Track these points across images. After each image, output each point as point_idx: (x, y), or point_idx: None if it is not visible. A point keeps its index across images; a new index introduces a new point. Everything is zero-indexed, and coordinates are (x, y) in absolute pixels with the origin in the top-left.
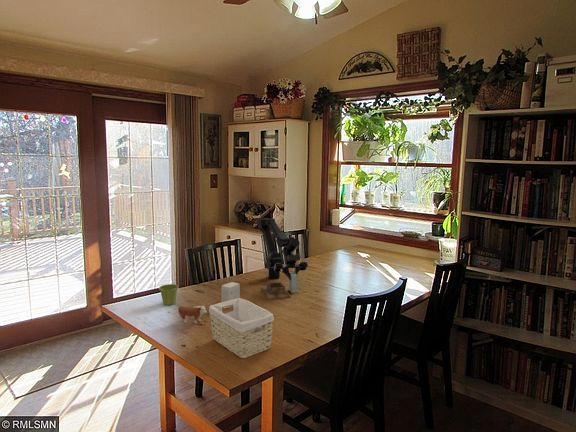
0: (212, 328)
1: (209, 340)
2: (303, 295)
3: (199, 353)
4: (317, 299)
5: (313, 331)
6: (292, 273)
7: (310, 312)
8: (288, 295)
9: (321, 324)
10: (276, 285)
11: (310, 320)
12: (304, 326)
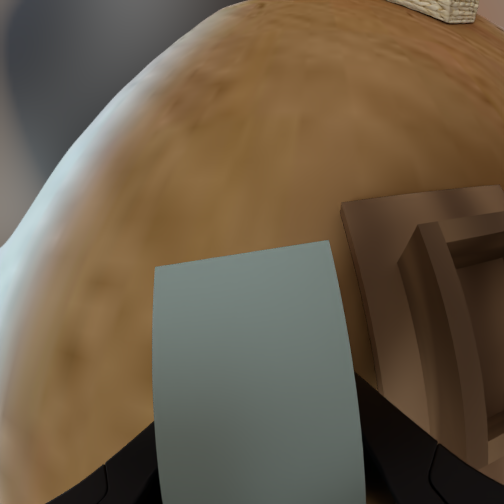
0: (475, 3)
1: (477, 24)
2: None
3: None
4: (137, 181)
5: (266, 9)
6: (272, 472)
7: (242, 58)
8: (357, 208)
9: (233, 24)
10: (496, 425)
11: (259, 30)
12: (285, 16)
